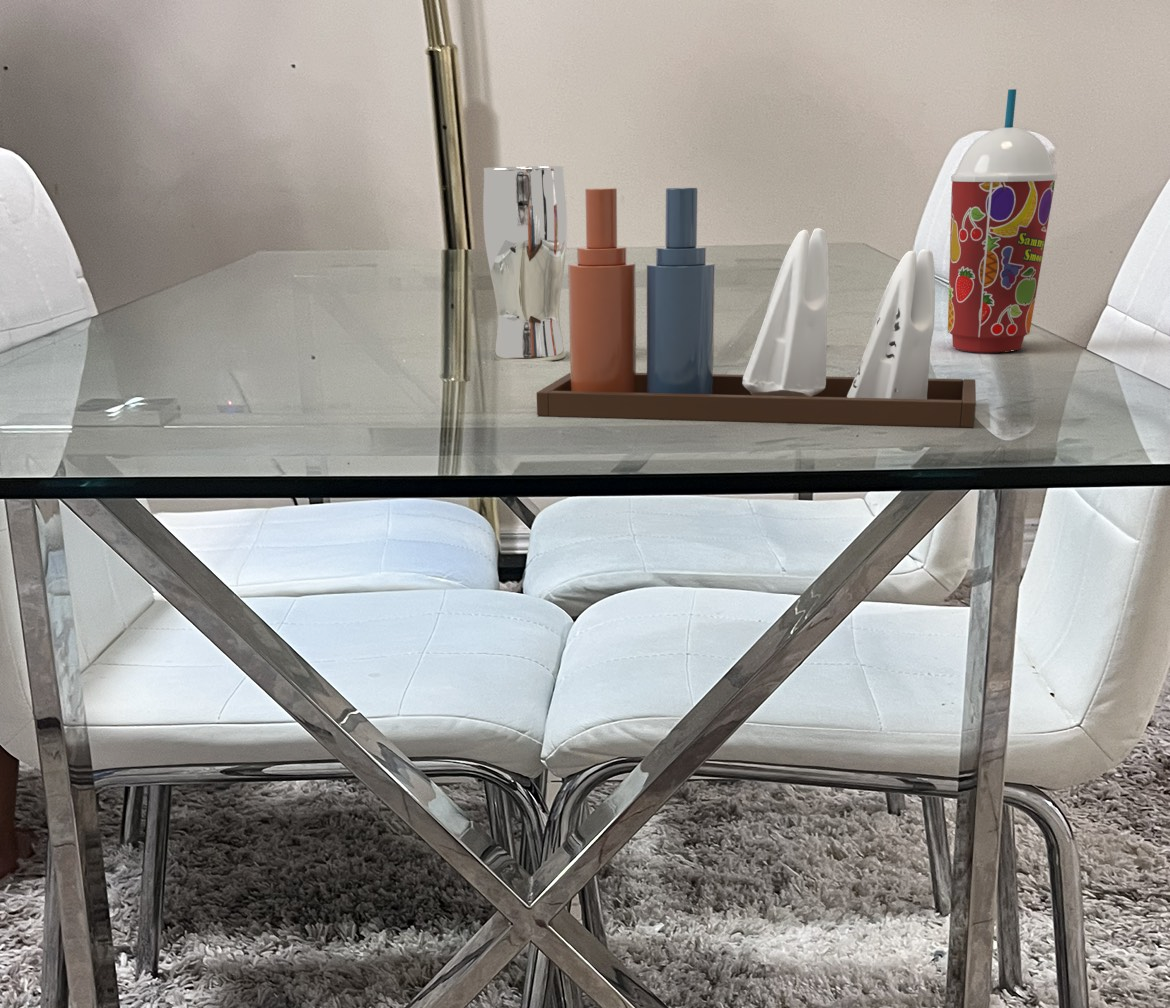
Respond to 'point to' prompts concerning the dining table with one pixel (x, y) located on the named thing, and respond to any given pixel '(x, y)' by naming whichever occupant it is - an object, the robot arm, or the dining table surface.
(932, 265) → the shaker set
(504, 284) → the beer glass
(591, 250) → the terracotta bottle
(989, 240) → the smoothie
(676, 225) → the slate-blue bottle
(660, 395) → the tray
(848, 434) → the dining table surface
